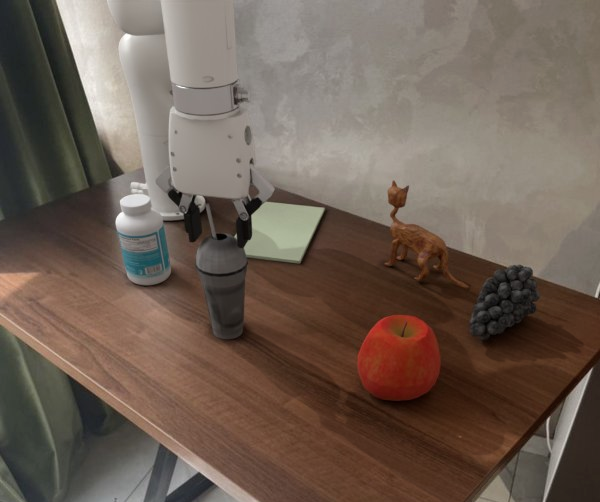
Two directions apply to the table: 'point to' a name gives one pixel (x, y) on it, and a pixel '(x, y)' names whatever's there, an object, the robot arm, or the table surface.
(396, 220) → the cat figurine
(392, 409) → the table surface
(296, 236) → the mat
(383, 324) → the apple
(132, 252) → the pill bottle
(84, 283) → the table surface
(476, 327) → the fruit
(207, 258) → the beverage cup
